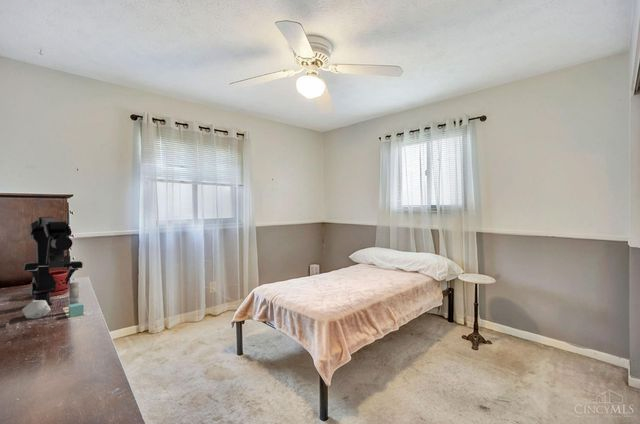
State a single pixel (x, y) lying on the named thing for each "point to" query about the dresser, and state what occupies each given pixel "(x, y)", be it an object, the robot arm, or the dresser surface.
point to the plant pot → (60, 282)
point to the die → (36, 309)
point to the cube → (76, 310)
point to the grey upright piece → (73, 298)
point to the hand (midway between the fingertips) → (52, 285)
